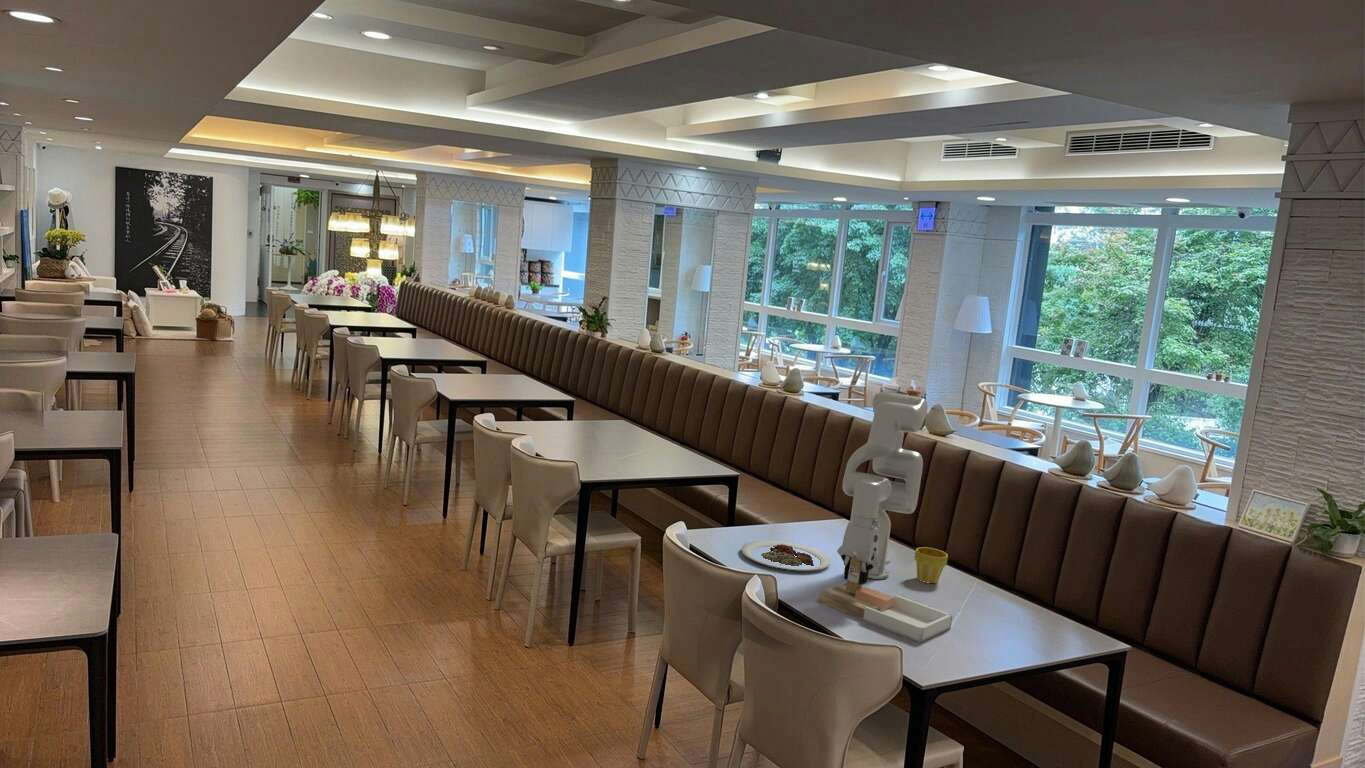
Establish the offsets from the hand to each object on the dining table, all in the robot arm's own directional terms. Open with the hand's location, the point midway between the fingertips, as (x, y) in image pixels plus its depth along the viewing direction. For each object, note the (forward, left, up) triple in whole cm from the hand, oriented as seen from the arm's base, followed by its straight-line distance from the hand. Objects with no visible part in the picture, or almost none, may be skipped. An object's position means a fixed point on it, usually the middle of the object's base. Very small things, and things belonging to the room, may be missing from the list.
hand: (855, 580), depth 279 cm
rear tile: (0, +5, -4) cm, 6 cm away
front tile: (0, +10, -4) cm, 11 cm away
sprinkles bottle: (0, 0, -4) cm, 4 cm away
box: (0, +18, -7) cm, 20 cm away
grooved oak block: (0, +1, -7) cm, 7 cm away
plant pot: (-43, +2, -7) cm, 44 cm away
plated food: (-17, -37, -8) cm, 41 cm away
